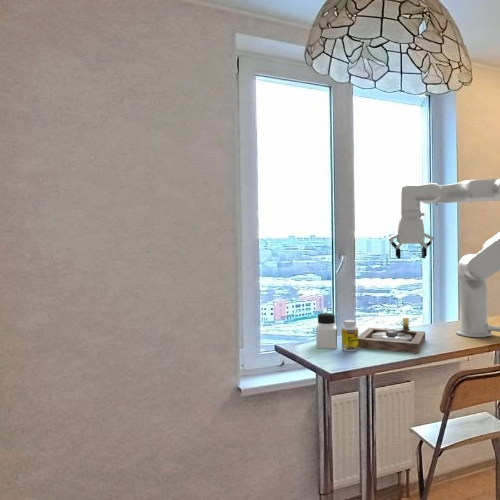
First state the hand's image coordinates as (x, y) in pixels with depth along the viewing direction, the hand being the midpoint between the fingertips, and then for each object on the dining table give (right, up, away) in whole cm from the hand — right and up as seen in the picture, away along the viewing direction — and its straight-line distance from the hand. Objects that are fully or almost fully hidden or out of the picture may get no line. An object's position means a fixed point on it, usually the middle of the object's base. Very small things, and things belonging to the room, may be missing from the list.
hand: (411, 258), depth 176 cm
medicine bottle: (-37, -32, -18) cm, 52 cm away
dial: (-12, -30, -16) cm, 36 cm away
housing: (-13, -31, -16) cm, 37 cm away
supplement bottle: (-30, -32, -24) cm, 50 cm away
